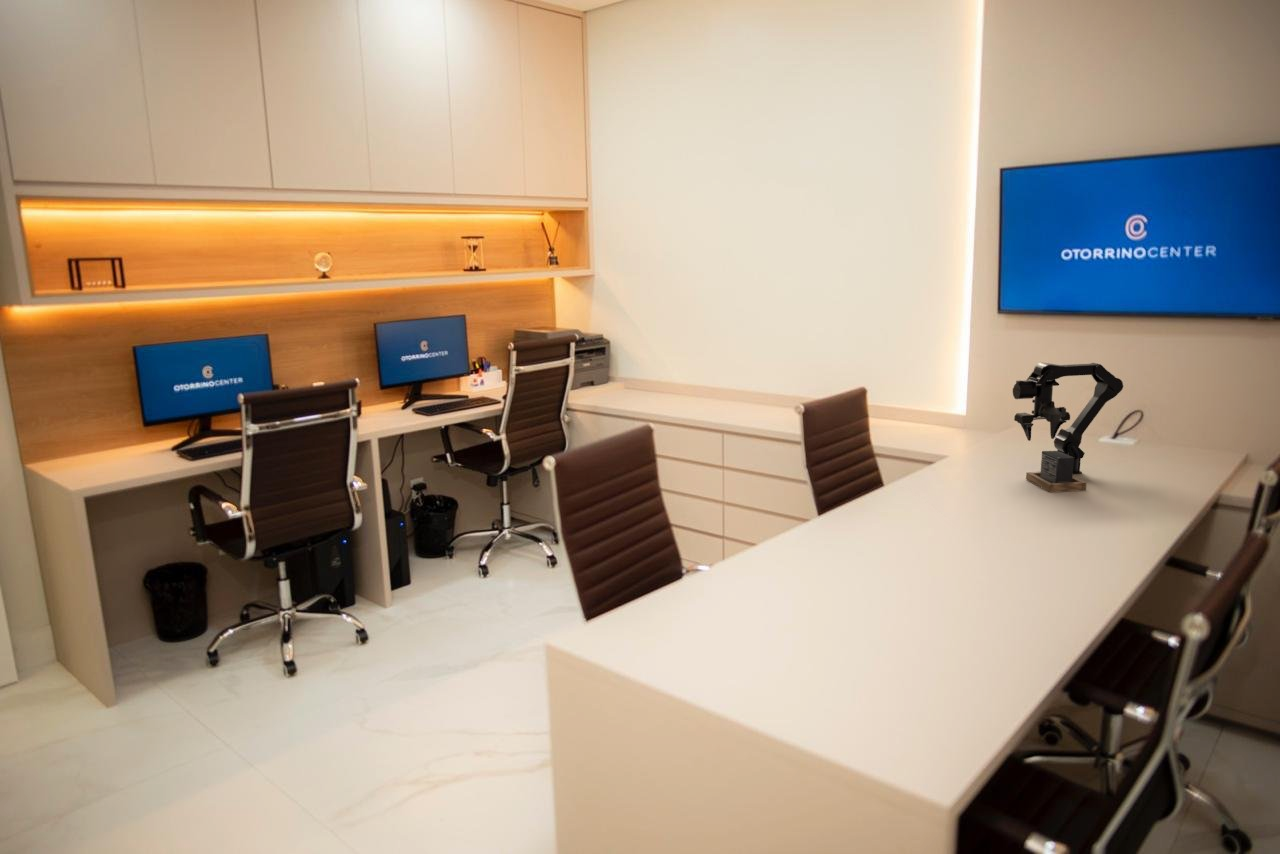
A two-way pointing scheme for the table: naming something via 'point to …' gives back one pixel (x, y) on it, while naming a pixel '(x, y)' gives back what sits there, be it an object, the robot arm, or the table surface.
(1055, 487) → the walnut holder
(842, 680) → the table surface
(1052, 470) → the small box
